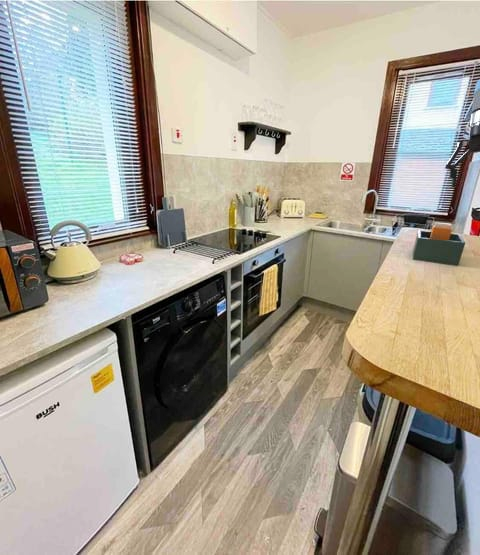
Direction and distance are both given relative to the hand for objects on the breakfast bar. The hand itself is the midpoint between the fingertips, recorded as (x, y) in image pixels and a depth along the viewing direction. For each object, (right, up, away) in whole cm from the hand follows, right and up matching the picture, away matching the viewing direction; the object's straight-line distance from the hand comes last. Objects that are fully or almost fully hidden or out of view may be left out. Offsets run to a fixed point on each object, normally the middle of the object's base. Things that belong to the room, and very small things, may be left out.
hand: (475, 185), depth 104 cm
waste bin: (-22, -28, -9) cm, 37 cm away
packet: (-22, -27, -9) cm, 36 cm away
